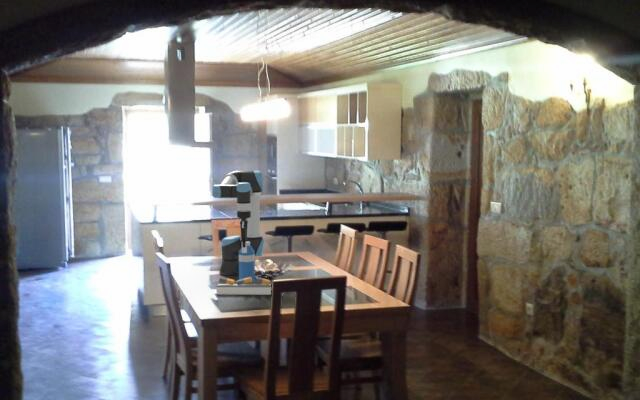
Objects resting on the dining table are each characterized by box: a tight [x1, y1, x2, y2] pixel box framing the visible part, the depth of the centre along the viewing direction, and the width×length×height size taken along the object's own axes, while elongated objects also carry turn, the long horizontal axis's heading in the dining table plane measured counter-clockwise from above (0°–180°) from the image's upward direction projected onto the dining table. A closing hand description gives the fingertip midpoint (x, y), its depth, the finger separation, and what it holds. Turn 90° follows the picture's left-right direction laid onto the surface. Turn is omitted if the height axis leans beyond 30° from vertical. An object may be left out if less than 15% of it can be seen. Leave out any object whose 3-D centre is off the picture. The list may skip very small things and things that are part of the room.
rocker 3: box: [255, 276, 271, 285], centre depth 384 cm, size 5×8×2 cm, turn 90°
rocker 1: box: [218, 276, 236, 285], centre depth 385 cm, size 5×8×2 cm, turn 90°
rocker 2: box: [236, 277, 252, 285], centre depth 385 cm, size 5×8×2 cm, turn 90°
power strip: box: [216, 280, 273, 296], centre depth 385 cm, size 10×30×5 cm, turn 90°
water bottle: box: [238, 241, 256, 281], centre depth 404 cm, size 9×9×25 cm
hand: (244, 252), depth 383 cm, fingers closed
